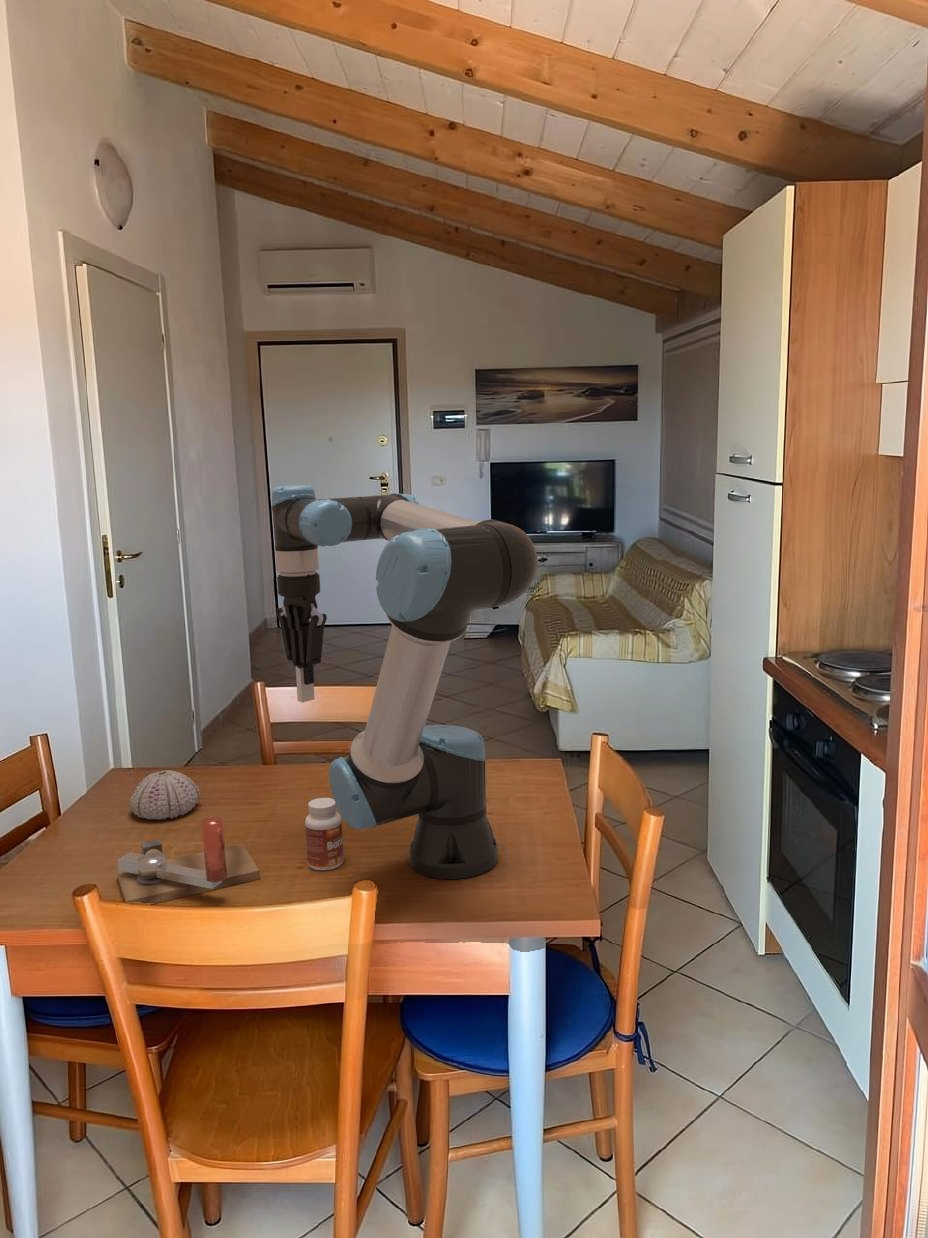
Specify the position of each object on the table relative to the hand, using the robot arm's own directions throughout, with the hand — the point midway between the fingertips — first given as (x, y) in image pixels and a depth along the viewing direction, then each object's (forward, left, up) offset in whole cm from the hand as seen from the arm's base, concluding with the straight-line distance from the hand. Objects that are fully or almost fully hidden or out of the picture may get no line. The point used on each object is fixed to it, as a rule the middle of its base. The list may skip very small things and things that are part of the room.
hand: (306, 700), depth 172 cm
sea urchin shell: (+28, +16, -25) cm, 41 cm away
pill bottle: (-15, +8, -25) cm, 30 cm away
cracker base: (-2, +27, -24) cm, 36 cm away
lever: (-5, +31, -22) cm, 38 cm away
